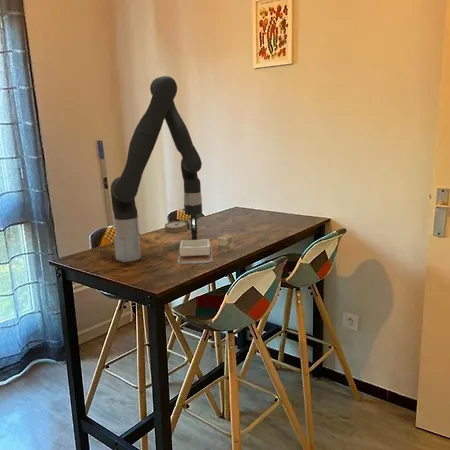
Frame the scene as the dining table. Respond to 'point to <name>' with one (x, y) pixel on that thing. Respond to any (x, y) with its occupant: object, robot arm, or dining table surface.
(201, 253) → the shallow white tray
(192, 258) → the track
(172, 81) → the robot arm
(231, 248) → the block
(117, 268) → the dining table surface
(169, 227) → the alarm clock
